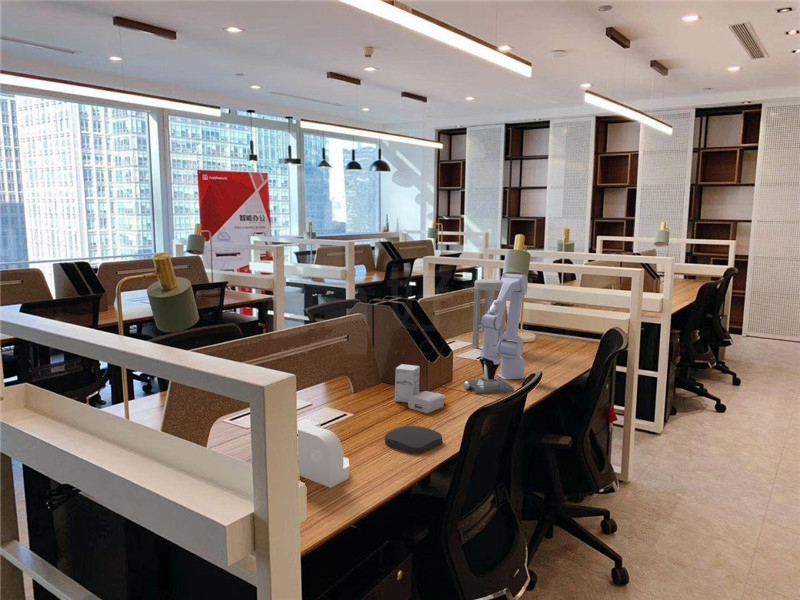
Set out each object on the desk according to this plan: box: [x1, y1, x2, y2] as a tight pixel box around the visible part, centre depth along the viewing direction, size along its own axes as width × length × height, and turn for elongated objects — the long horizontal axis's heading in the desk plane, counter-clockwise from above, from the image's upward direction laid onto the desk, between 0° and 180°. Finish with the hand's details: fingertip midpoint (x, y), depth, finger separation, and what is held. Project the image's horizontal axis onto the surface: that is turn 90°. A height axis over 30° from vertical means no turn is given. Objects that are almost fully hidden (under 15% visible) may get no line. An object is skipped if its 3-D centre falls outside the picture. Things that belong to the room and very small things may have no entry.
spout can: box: [483, 361, 493, 382], centre depth 237 cm, size 4×4×9 cm
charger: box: [407, 390, 447, 414], centre depth 215 cm, size 5×9×15 cm
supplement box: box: [394, 363, 421, 403], centre depth 221 cm, size 7×7×13 cm
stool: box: [471, 278, 506, 349], centre depth 306 cm, size 16×16×35 cm
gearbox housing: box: [463, 376, 515, 395], centre depth 238 cm, size 18×13×4 cm
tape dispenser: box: [297, 418, 350, 489], centre depth 158 cm, size 16×10×13 cm, turn 53°
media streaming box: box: [384, 425, 443, 455], centre depth 181 cm, size 15×15×3 cm
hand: (488, 377), depth 238 cm, fingers open, 4 cm apart
